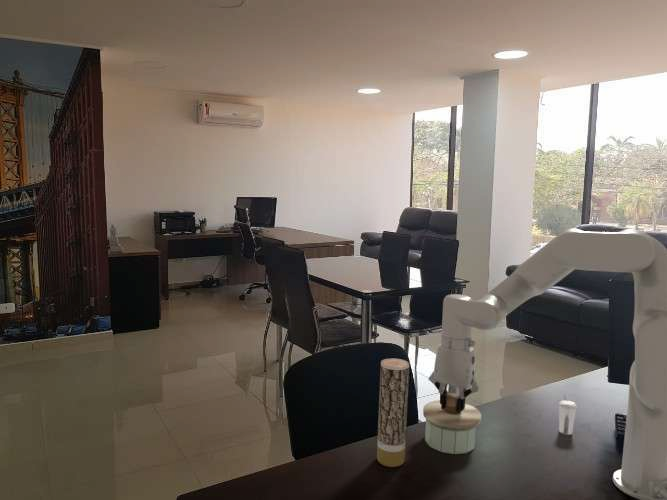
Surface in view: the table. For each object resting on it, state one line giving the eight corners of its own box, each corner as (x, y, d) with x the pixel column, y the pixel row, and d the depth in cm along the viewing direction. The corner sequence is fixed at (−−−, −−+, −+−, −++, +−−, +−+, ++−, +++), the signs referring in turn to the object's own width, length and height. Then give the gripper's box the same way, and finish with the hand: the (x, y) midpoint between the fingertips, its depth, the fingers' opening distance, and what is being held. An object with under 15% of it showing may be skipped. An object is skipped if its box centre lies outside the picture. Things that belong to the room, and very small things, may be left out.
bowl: (483, 451, 135) (485, 429, 135) (437, 455, 132) (438, 433, 132) (461, 428, 148) (462, 408, 147) (418, 432, 145) (419, 411, 144)
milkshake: (570, 428, 150) (573, 394, 149) (576, 437, 145) (579, 402, 144) (553, 427, 151) (556, 393, 149) (559, 435, 145) (562, 401, 144)
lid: (492, 426, 134) (493, 405, 133) (438, 431, 130) (439, 409, 129) (463, 402, 148) (464, 383, 148) (414, 406, 145) (415, 387, 144)
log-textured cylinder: (382, 470, 125) (386, 368, 122) (372, 455, 132) (376, 359, 128) (408, 466, 127) (413, 366, 124) (398, 452, 133) (402, 357, 130)
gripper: (491, 344, 136) (487, 412, 138) (431, 333, 144) (428, 397, 147) (483, 351, 129) (478, 422, 131) (420, 339, 138) (417, 406, 140)
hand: (452, 408), depth 139 cm, fingers closed on lid, 3 cm apart
